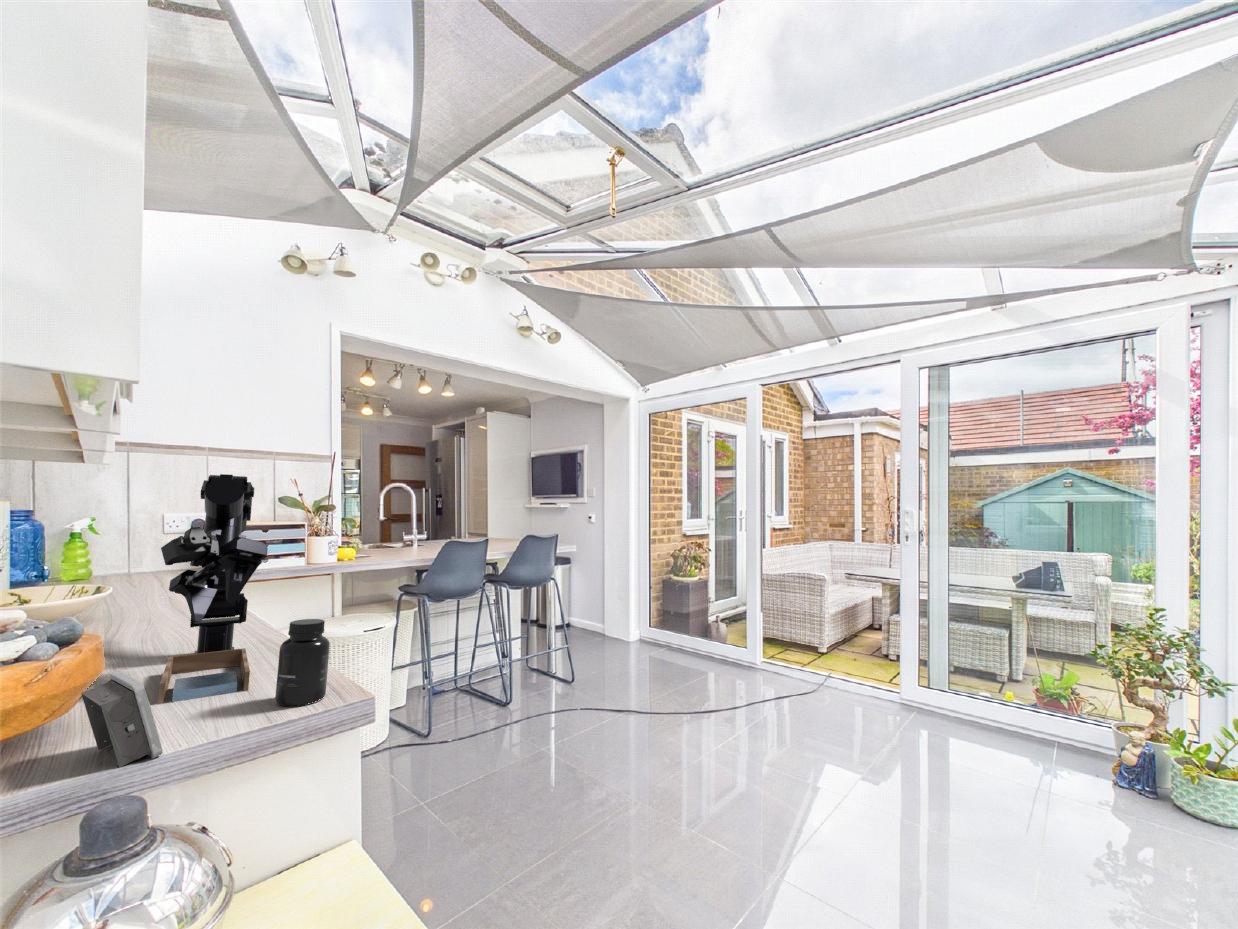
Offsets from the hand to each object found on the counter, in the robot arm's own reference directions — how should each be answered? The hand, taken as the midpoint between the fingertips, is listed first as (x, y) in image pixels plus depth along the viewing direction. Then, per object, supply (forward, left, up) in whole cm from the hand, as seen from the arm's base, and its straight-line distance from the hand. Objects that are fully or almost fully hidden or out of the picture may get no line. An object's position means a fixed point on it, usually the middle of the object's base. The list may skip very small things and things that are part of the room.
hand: (213, 612), depth 92 cm
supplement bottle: (+19, +12, -12) cm, 26 cm away
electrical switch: (+29, -8, -12) cm, 33 cm away
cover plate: (+5, 0, -12) cm, 13 cm away
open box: (0, 0, -12) cm, 12 cm away
